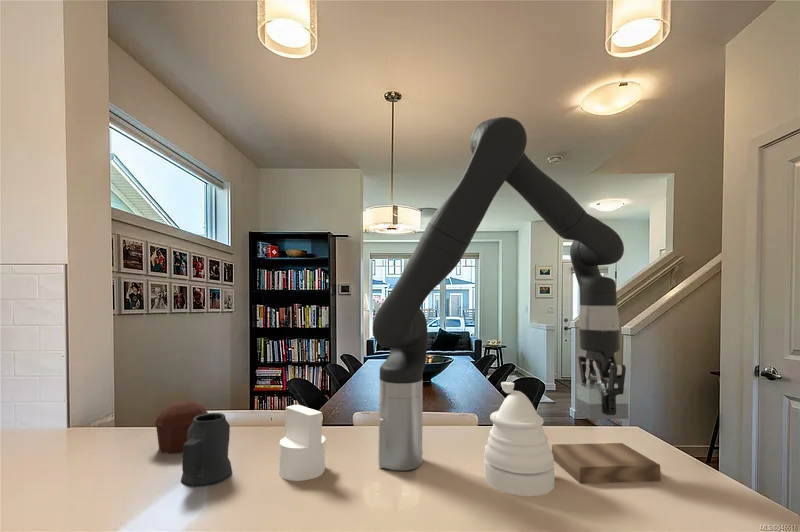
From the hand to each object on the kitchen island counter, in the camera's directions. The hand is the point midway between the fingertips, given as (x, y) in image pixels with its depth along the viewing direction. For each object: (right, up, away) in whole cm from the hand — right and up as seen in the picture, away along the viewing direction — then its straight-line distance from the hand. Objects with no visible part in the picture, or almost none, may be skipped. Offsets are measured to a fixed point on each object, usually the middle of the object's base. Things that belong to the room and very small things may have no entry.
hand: (601, 410), depth 85 cm
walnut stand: (0, -12, 0) cm, 12 cm away
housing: (0, -1, 0) cm, 1 cm away
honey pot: (-19, -12, -6) cm, 23 cm away
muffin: (-92, -12, +11) cm, 94 cm away
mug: (-79, -11, -6) cm, 80 cm away
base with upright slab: (-61, -12, -2) cm, 62 cm away
